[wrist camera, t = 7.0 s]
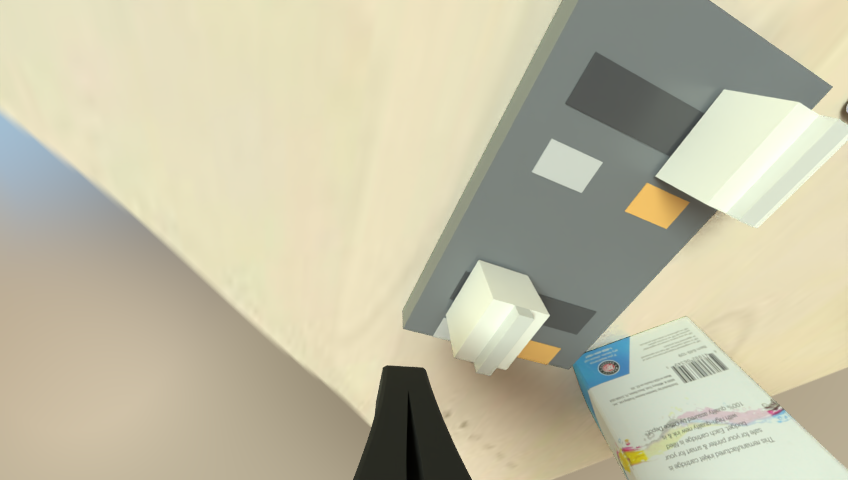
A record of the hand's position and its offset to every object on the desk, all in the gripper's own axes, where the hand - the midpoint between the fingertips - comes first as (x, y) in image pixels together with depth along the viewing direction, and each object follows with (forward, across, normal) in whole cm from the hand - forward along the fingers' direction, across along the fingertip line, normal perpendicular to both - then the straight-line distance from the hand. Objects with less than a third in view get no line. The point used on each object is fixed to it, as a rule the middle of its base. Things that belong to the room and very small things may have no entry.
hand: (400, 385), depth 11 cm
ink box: (+9, -20, +8) cm, 23 cm away
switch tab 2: (+7, -13, -8) cm, 17 cm away
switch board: (+8, -9, -4) cm, 13 cm away
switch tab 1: (+7, -5, +1) cm, 9 cm away
